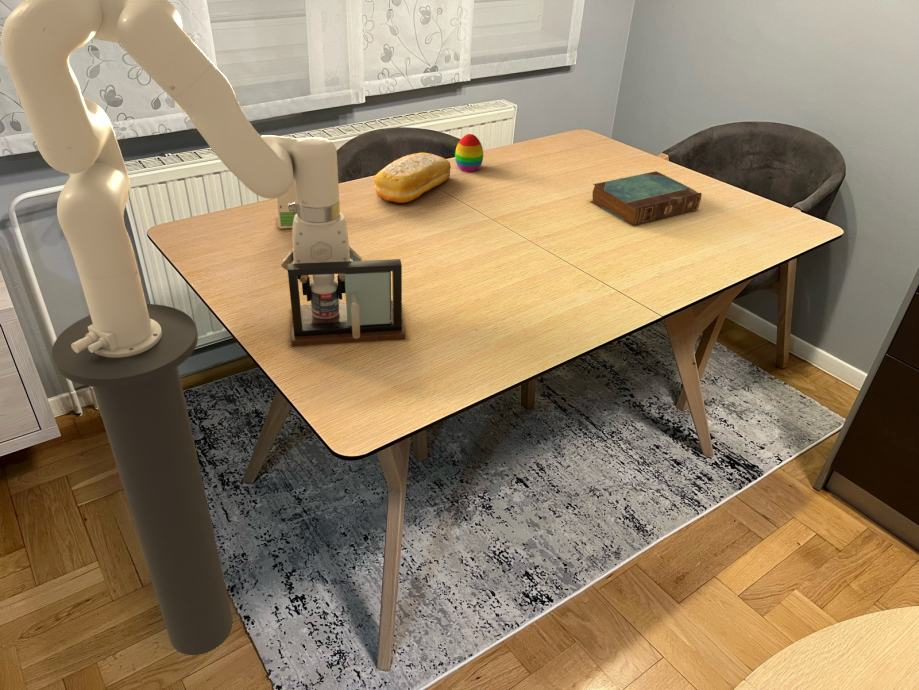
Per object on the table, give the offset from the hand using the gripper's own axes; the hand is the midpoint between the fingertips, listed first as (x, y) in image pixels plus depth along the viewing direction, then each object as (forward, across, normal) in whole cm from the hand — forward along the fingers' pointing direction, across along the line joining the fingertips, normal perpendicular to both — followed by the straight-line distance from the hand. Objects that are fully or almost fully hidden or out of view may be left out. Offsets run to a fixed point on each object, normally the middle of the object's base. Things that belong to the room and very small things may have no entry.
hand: (324, 296), depth 140 cm
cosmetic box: (+5, -6, +44) cm, 45 cm away
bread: (+5, +25, +64) cm, 68 cm away
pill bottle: (+4, 0, 0) cm, 4 cm away
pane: (+2, +8, -10) cm, 13 cm away
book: (+5, +85, +48) cm, 98 cm away
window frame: (+5, +4, -3) cm, 7 cm away
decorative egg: (+5, +43, +78) cm, 89 cm away
